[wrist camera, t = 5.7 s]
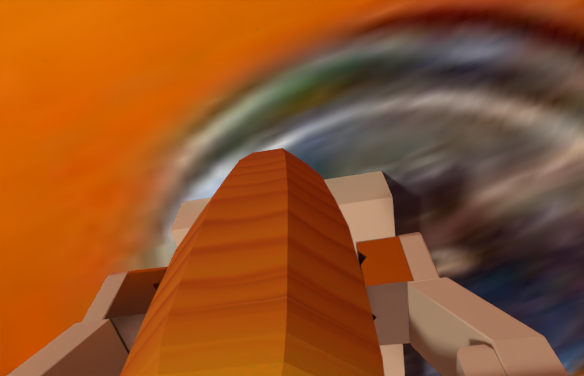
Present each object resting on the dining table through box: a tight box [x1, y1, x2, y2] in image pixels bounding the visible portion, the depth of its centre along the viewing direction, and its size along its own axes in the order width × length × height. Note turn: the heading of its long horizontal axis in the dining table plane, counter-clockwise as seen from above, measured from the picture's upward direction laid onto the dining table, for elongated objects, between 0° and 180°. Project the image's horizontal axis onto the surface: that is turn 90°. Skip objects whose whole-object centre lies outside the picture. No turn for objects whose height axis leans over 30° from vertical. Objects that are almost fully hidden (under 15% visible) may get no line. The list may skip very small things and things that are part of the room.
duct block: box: [171, 171, 405, 376], centre depth 34 cm, size 14×26×4 cm, turn 10°
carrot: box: [120, 148, 384, 376], centre depth 10 cm, size 5×5×15 cm
